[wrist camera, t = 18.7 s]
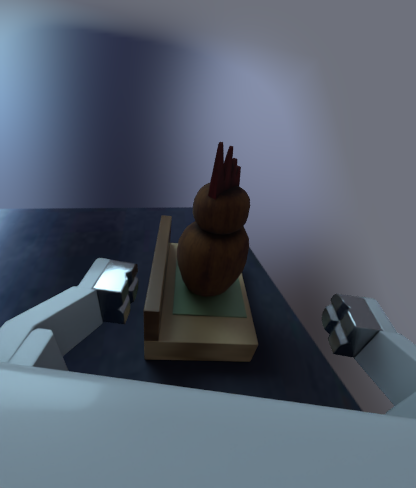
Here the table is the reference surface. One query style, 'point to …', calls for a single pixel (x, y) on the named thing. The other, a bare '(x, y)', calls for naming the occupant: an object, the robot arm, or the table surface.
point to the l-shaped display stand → (193, 314)
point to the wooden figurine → (216, 231)
